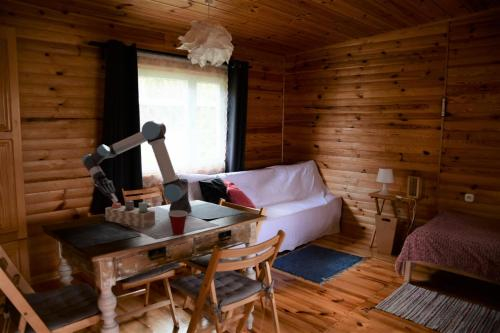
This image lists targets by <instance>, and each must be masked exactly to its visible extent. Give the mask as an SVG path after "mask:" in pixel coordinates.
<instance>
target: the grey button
mask: <svg viewBox="0 0 500 333" xmlns="http://www.w3.org/2000/svg"><path fill="white" fill-rule="evenodd" d="M124 206H125V210H133V209H134V208H135V206H134V200H124Z"/></svg>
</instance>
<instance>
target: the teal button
mask: <svg viewBox="0 0 500 333" xmlns="http://www.w3.org/2000/svg"><path fill="white" fill-rule="evenodd" d="M138 208H139V212H147V211H148V210H149V209H148V202H146V201H145V202H138Z"/></svg>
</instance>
